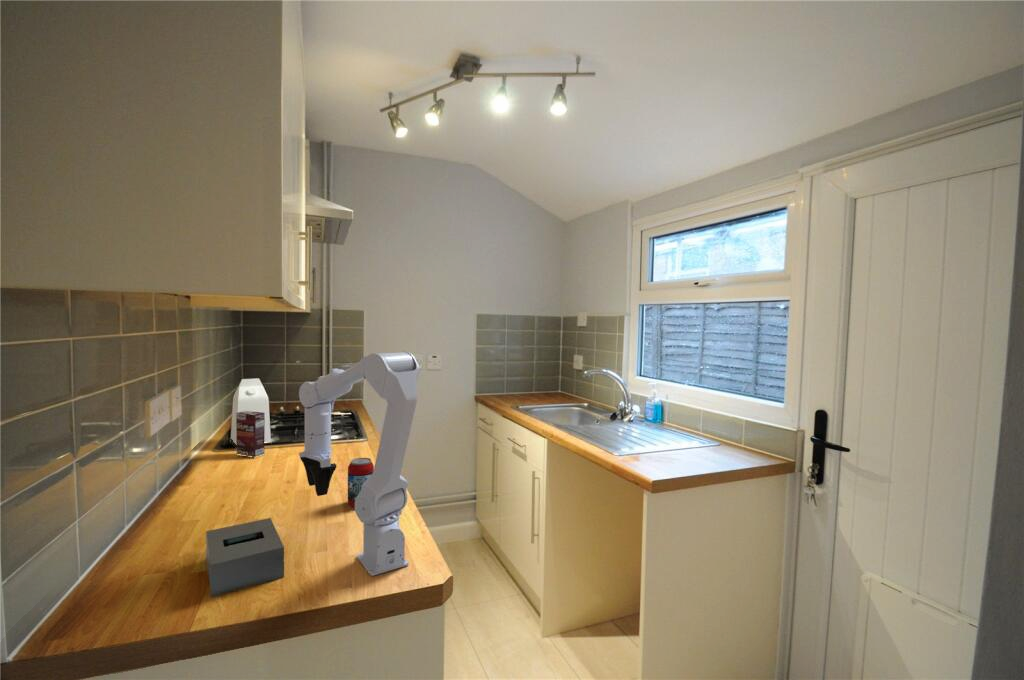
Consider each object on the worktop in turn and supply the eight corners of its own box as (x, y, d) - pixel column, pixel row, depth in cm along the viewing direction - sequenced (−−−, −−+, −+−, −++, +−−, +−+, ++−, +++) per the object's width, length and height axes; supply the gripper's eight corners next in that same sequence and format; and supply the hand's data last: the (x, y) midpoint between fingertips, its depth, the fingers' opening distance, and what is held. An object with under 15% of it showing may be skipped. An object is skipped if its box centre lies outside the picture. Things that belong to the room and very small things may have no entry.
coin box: (284, 577, 91) (284, 547, 91) (211, 597, 84) (210, 564, 84) (270, 544, 104) (270, 517, 104) (206, 559, 97) (206, 531, 97)
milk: (264, 439, 193) (263, 376, 192) (271, 445, 184) (270, 379, 183) (230, 443, 185) (230, 378, 184) (236, 450, 176) (235, 381, 175)
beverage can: (346, 509, 124) (346, 465, 123) (348, 500, 130) (348, 457, 130) (373, 507, 126) (373, 463, 125) (373, 498, 132) (374, 456, 132)
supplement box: (235, 456, 168) (235, 412, 168) (246, 452, 173) (246, 410, 172) (254, 458, 166) (254, 414, 165) (265, 455, 171) (265, 412, 170)
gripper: (293, 428, 113) (292, 483, 113) (306, 441, 101) (306, 503, 101) (323, 424, 117) (323, 478, 117) (340, 437, 105) (340, 496, 106)
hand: (317, 489), depth 110 cm, fingers open, 7 cm apart
